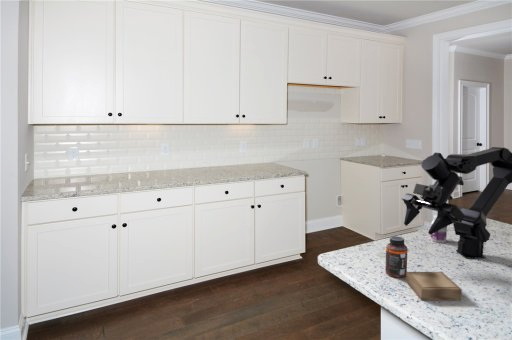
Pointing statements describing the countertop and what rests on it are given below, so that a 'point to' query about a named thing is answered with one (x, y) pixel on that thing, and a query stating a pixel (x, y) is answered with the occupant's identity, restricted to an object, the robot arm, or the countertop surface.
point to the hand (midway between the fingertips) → (416, 229)
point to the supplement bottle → (396, 257)
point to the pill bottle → (439, 233)
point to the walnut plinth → (433, 286)
